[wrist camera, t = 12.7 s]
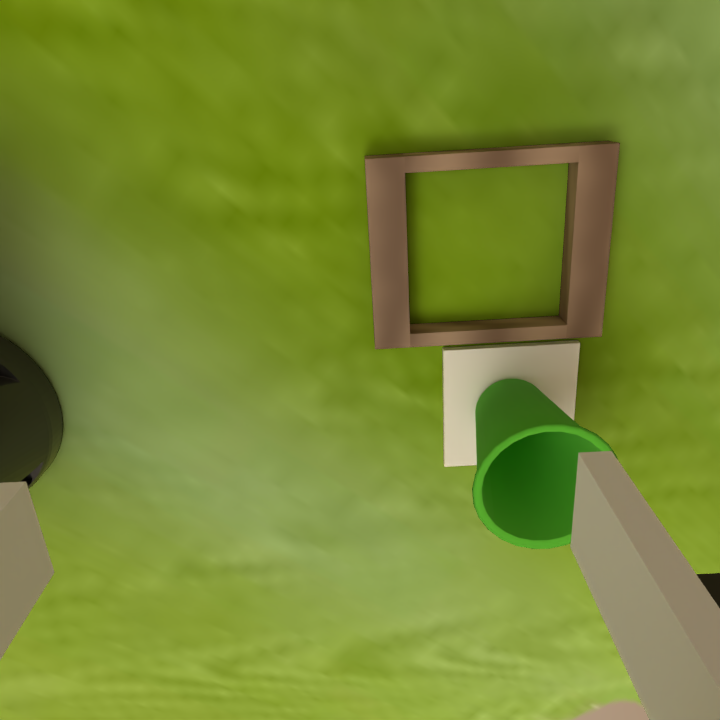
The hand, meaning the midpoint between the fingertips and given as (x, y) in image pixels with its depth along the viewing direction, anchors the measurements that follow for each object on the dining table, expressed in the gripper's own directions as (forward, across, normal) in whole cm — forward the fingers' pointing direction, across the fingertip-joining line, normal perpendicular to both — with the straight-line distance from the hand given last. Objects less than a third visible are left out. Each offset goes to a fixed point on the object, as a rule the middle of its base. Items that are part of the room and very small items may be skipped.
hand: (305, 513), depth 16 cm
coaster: (+32, +12, -14) cm, 37 cm away
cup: (+31, +12, -14) cm, 36 cm away
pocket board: (+32, +10, -2) cm, 33 cm away
